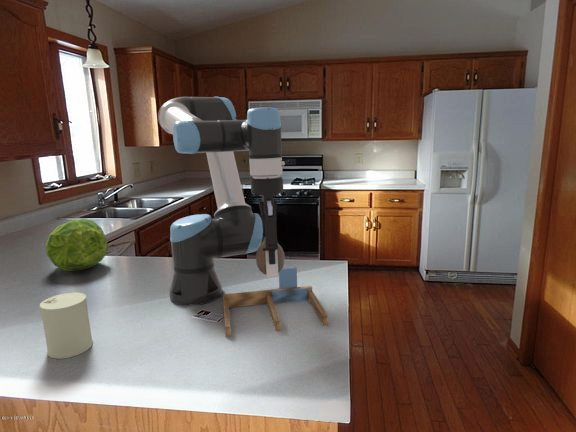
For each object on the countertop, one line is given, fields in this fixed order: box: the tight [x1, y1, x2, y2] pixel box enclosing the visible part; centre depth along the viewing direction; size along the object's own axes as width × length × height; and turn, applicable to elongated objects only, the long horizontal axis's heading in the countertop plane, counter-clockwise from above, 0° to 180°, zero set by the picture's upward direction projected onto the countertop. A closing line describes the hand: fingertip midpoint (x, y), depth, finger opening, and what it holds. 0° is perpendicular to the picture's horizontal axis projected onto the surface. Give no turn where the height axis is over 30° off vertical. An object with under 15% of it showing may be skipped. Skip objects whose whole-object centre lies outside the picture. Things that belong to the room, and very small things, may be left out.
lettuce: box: [45, 218, 109, 272], centre depth 144 cm, size 19×23×18 cm
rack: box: [222, 285, 329, 337], centre depth 104 cm, size 25×17×4 cm
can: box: [39, 291, 94, 360], centre depth 90 cm, size 9×9×12 cm
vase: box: [255, 237, 286, 276], centre depth 96 cm, size 7×7×9 cm
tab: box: [278, 266, 298, 289], centre depth 113 cm, size 5×1×6 cm, turn 100°
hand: (271, 271), depth 97 cm, fingers closed on vase, 7 cm apart
